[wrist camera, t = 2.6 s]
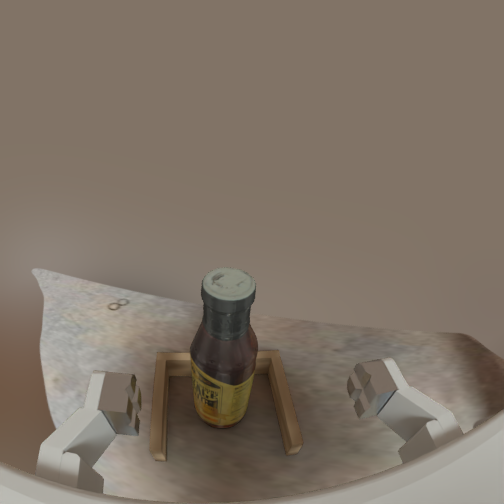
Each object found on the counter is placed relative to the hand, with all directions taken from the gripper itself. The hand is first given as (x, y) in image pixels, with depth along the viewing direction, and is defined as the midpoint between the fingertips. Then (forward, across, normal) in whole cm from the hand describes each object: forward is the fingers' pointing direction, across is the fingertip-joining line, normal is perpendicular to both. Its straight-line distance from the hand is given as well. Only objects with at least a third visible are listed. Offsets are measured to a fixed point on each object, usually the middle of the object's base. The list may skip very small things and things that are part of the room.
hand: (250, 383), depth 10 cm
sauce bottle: (+12, 0, +24) cm, 27 cm away
